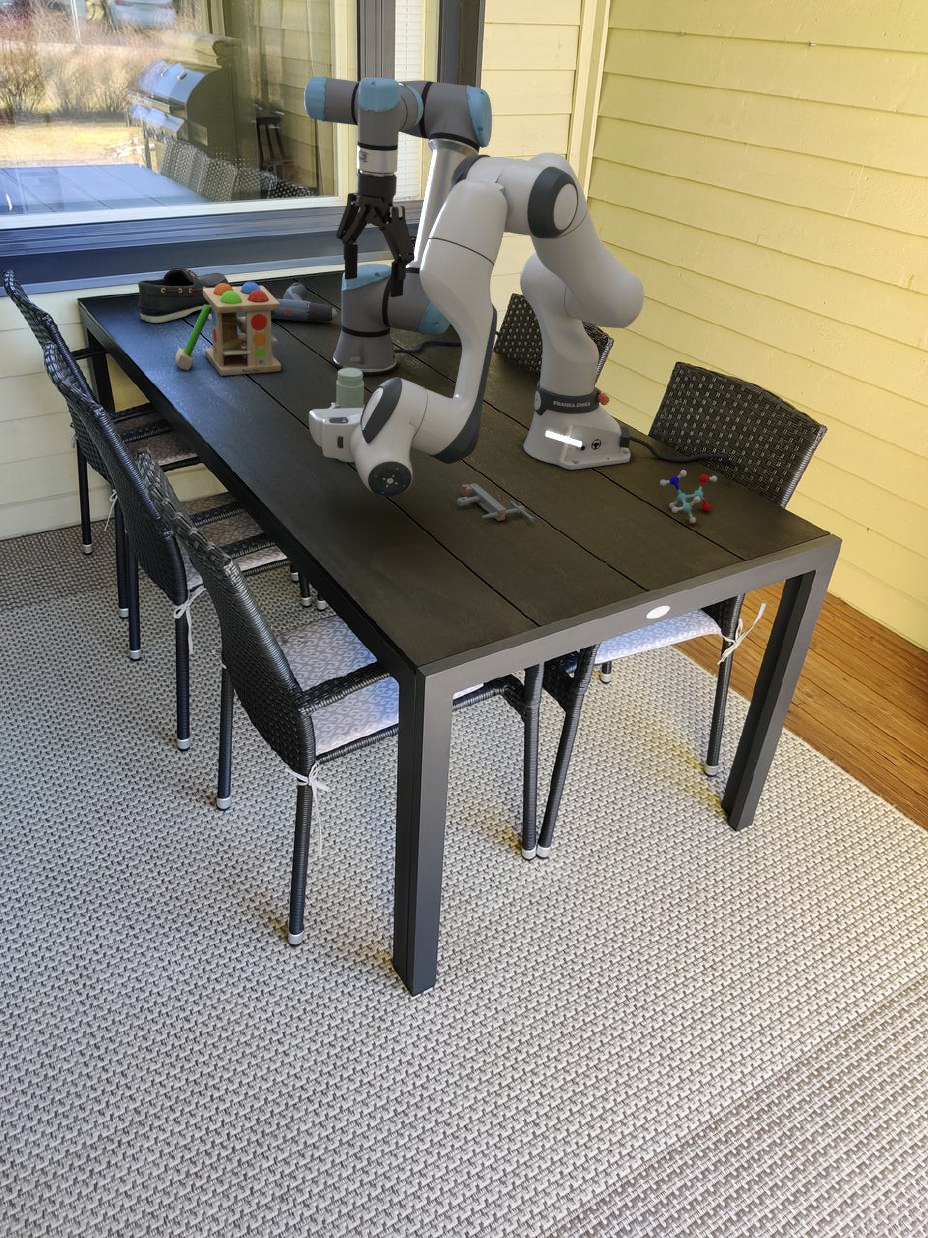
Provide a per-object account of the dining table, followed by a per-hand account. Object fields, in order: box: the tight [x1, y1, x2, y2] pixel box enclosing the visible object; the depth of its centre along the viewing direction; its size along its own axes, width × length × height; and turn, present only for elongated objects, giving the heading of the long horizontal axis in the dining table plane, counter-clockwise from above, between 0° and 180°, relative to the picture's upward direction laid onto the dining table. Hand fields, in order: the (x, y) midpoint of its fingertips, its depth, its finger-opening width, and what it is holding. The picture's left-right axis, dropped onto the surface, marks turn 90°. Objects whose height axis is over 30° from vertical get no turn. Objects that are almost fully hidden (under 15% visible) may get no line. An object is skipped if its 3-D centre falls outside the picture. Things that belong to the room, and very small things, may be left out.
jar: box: [335, 368, 365, 463], centre depth 190 cm, size 5×5×18 cm
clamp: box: [456, 483, 535, 523], centre depth 180 cm, size 15×2×10 cm
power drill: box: [271, 282, 338, 322], centre depth 265 cm, size 5×19×20 cm
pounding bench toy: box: [174, 281, 282, 377], centre depth 225 cm, size 23×14×18 cm, turn 116°
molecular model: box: [659, 469, 718, 524], centre depth 185 cm, size 12×10×10 cm
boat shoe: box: [137, 266, 230, 324], centre depth 260 cm, size 13×33×10 cm, turn 147°
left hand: (373, 287), depth 196 cm, fingers open, 13 cm apart
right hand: (360, 405), depth 178 cm, fingers open, 8 cm apart
